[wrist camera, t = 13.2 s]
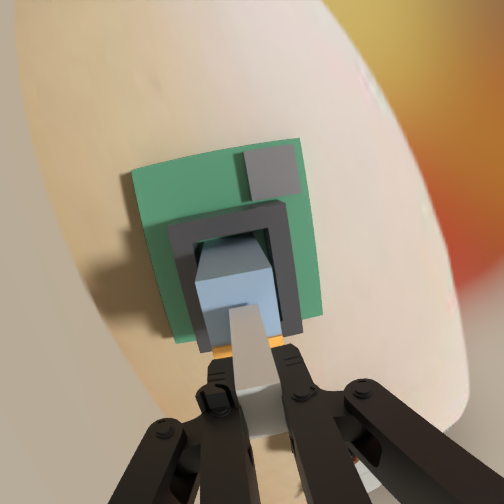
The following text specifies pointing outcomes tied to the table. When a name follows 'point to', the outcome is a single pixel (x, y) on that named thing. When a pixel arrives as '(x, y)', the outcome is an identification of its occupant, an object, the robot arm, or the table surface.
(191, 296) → the circuit board
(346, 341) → the table surface
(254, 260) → the plug
